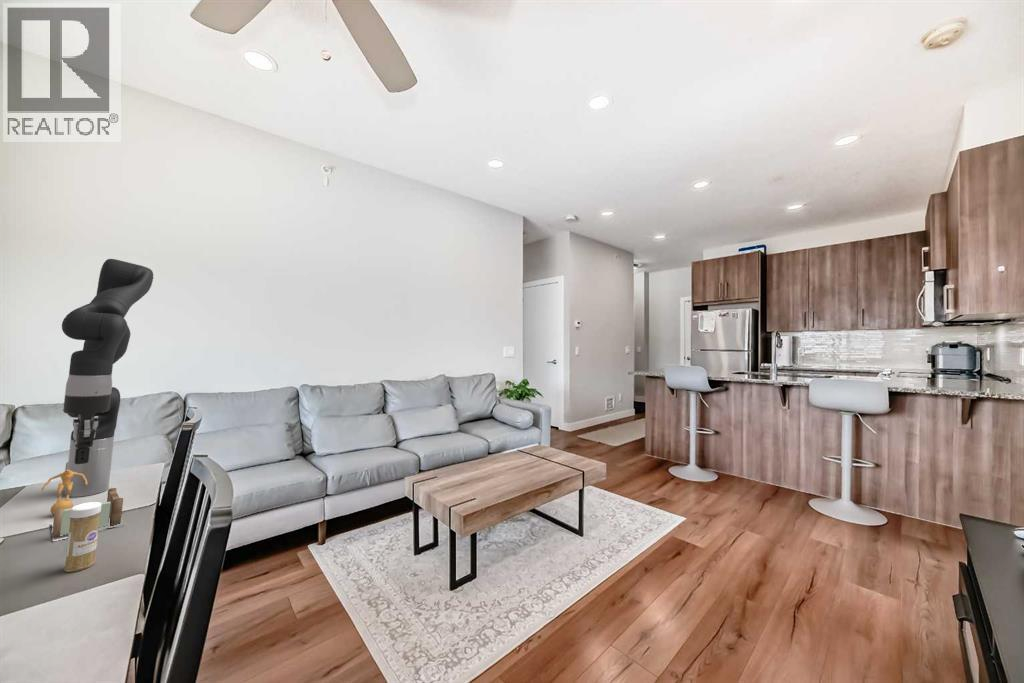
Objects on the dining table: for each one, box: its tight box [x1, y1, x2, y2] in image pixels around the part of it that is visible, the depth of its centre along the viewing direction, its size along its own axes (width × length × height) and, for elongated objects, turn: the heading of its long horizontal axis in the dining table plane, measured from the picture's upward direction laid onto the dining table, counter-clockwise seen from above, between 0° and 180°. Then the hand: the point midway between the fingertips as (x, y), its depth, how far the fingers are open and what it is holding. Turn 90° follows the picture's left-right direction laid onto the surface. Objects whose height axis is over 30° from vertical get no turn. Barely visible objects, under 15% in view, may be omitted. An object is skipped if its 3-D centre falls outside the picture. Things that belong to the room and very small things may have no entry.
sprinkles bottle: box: [63, 501, 102, 573], centre depth 81 cm, size 5×5×14 cm
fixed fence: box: [106, 487, 124, 526], centre depth 102 cm, size 12×2×7 cm, turn 53°
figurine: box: [41, 470, 88, 515], centre depth 103 cm, size 8×6×12 cm
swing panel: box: [51, 501, 111, 537], centre depth 94 cm, size 9×2×6 cm, turn 138°
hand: (81, 462), depth 90 cm, fingers closed
